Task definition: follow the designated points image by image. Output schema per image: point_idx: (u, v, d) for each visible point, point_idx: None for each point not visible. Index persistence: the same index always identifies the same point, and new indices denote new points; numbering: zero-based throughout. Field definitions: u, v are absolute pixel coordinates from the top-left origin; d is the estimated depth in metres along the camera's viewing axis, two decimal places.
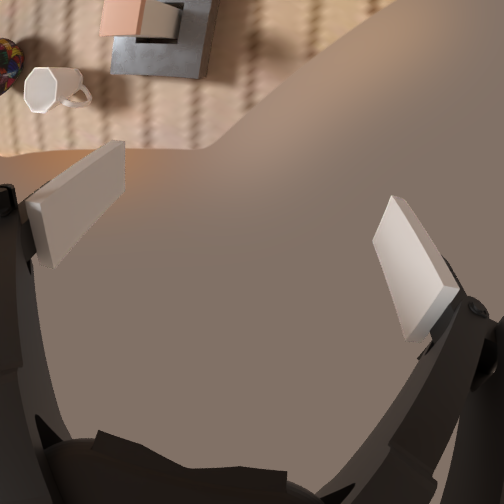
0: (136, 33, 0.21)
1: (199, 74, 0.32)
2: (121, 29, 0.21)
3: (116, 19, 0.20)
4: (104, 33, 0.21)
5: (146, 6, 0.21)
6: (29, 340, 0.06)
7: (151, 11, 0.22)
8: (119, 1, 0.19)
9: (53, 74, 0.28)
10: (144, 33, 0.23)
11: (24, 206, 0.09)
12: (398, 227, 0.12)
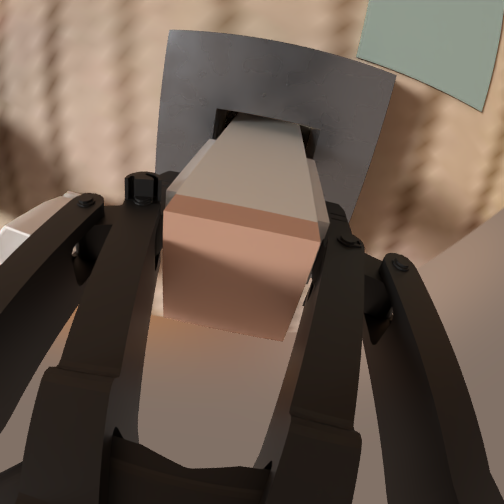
0: None
1: None
2: (238, 321, 0.10)
3: (219, 292, 0.09)
4: (180, 316, 0.10)
5: None
6: (134, 343, 0.06)
7: None
8: (228, 238, 0.08)
9: None
10: None
11: None
12: None
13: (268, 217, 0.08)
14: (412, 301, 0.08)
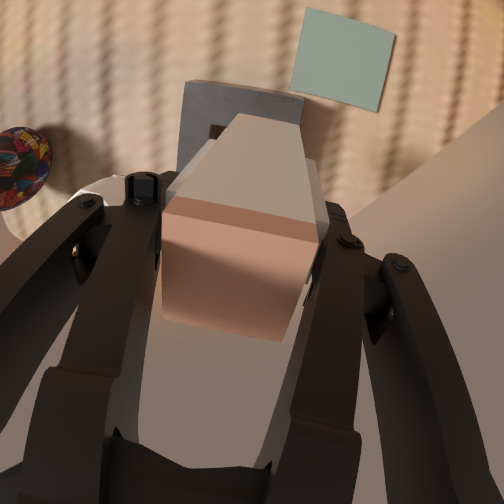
0: None
1: None
2: (236, 322, 0.10)
3: (218, 293, 0.09)
4: (179, 316, 0.10)
5: None
6: (134, 343, 0.06)
7: None
8: (226, 240, 0.08)
9: (107, 203, 0.32)
10: None
11: None
12: None
13: (266, 219, 0.08)
14: (412, 301, 0.08)
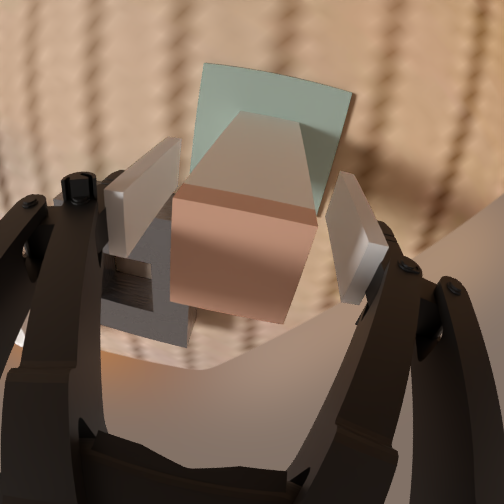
0: None
1: (187, 342, 0.29)
2: (241, 304, 0.10)
3: (223, 276, 0.10)
4: (185, 300, 0.10)
5: None
6: (87, 337, 0.06)
7: None
8: (232, 223, 0.09)
9: None
10: None
11: None
12: (342, 198, 0.14)
13: (269, 204, 0.09)
14: (461, 322, 0.07)
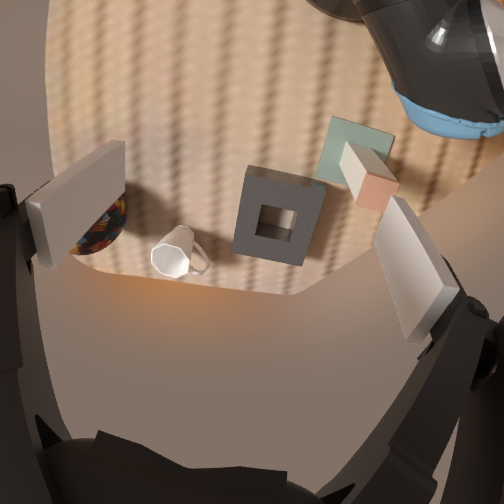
0: None
1: (302, 262, 0.52)
2: (377, 206, 0.34)
3: (375, 196, 0.33)
4: (362, 205, 0.34)
5: None
6: (29, 340, 0.06)
7: None
8: (381, 182, 0.32)
9: (185, 254, 0.48)
10: None
11: (24, 206, 0.09)
12: (398, 227, 0.12)
13: (387, 178, 0.32)
14: None
